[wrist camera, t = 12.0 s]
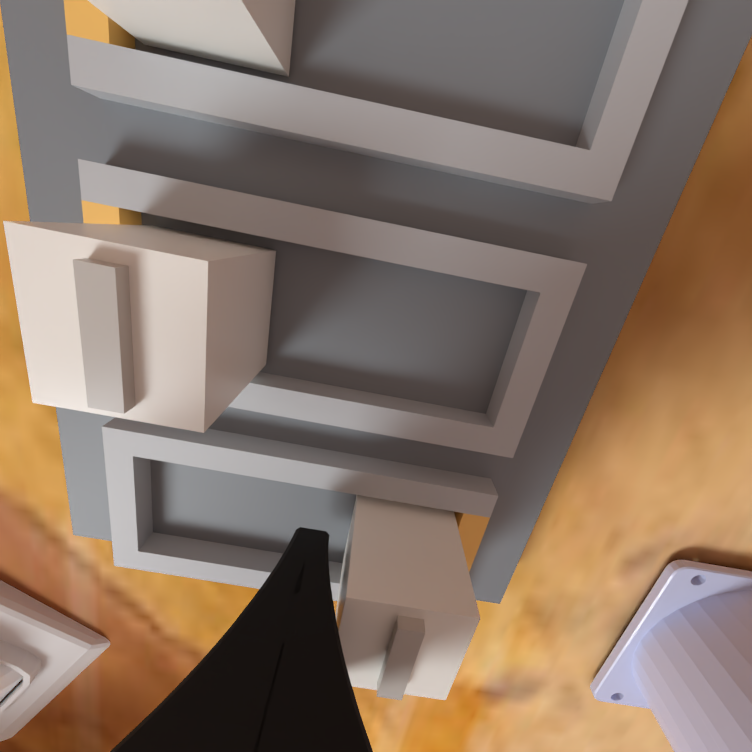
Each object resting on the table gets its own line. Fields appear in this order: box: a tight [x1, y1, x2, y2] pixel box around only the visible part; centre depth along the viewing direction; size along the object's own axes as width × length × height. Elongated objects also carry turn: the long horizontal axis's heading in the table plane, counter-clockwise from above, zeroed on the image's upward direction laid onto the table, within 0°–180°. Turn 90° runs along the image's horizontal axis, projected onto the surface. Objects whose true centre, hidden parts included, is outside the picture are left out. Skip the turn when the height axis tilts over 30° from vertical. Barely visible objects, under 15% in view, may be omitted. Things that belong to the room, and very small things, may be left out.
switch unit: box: [0, 0, 752, 604], centre depth 10 cm, size 15×18×2 cm
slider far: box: [336, 495, 480, 700], centre depth 10 cm, size 3×3×4 cm
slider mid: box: [3, 221, 276, 433], centre depth 8 cm, size 3×3×4 cm
